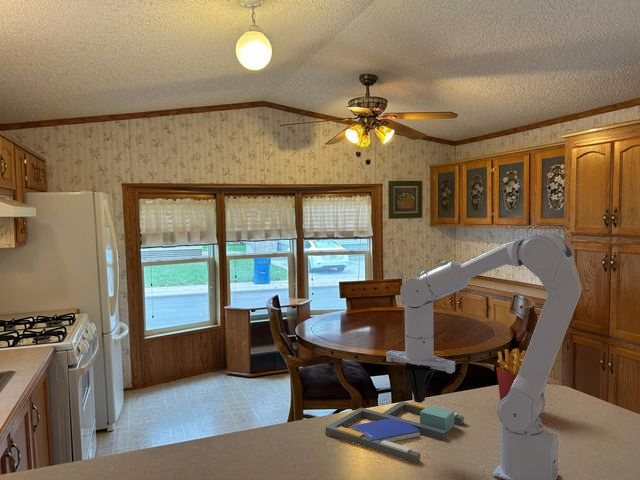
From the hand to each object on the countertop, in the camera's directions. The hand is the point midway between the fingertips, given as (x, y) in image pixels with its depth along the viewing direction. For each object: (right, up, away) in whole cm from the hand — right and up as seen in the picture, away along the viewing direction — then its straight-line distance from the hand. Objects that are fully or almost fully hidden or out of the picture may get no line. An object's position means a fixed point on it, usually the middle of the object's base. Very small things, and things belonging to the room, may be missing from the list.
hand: (419, 400), depth 99 cm
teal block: (+6, -9, +10) cm, 14 cm away
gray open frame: (-6, -9, +5) cm, 12 cm away
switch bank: (+3, -9, +12) cm, 15 cm away
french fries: (+28, -9, +20) cm, 36 cm away
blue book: (-6, -9, +6) cm, 13 cm away
